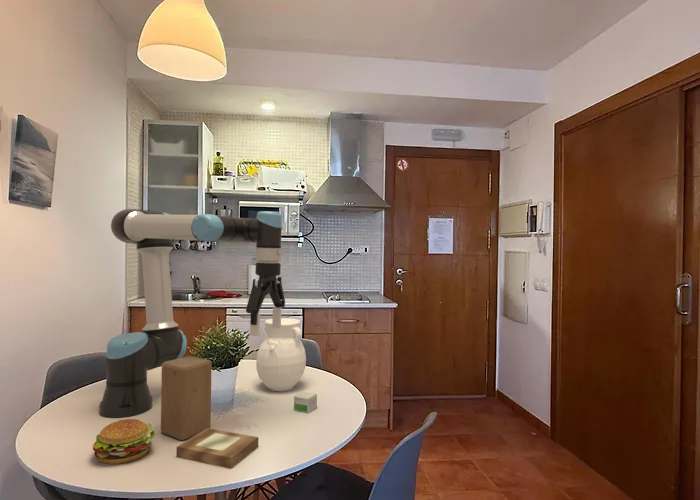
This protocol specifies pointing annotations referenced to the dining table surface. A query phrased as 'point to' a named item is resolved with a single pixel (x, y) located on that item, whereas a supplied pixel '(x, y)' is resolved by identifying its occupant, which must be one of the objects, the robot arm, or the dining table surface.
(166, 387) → the wooden block
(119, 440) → the food
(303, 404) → the small box
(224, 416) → the dining table surface
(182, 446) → the board
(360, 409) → the dining table surface
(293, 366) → the pitcher
